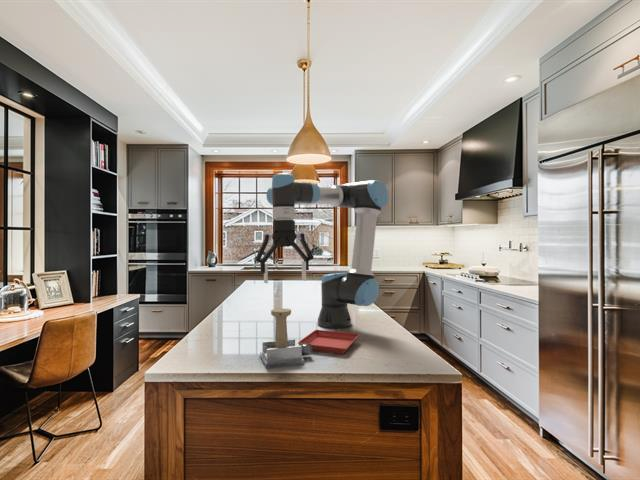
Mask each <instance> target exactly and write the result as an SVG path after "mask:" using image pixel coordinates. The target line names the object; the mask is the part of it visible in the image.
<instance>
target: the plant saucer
mask: <svg viewBox="0 0 640 480" xmlns="http://www.w3.org/2000/svg"><path fill="white" fill-rule="evenodd" d="M359 336H360V334H359V333H351V332H342V331H333V330H323V329H315V330H313V331H312V332H310V333H309V334H307V335H306V336H305V337H304V338H301V339H300V340H299V341H297V342H298V343H297V344H298V345H303V344H311V345H312V352H313V351H314V352H320V353H326V354H327V353H328V354H329V353H330V354H337V355H344V354H345V353H346V352H347V350H349V349H350V347H351V346H352V345H353V344H354V343H355V342H356V341H357V339H358V338H359Z"/></svg>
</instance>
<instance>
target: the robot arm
mask: <svg viewBox="0 0 640 480" xmlns="http://www.w3.org/2000/svg"><path fill="white" fill-rule="evenodd" d="M266 200H267V202H268V203H269V204H270V205H271V206H272V219H274V220H273V221H272V230H273V231H272V234H268V233H265V234H264V235H263V241H262V243H261V245H260V248H259V249H258V251H257V254H256V256H255V259H254V261H255V262H256V263H259V264H260V273H261V274H263V282H264V283H265V284H268V283H269V281H268V280H269V279H268V277H269V275H268V274H269V271H268V263H266V262H267V261H268V260H269V258H270V257H271V256H272V255H273V253H274V252H275V251H276V249H278V248H284V247H285V248H286V247H287V248H290V247H291V248H293V249H294V251H295V252H296V253H297V254H298V256H300V258H301V259H302V260H301V280H302V281H307V271H309V269H310V266H309V262H310V261H311V260H314V257H315V256H314V255H313V253H312V251H311V248H310V247H309V244H308V243H307V241H306V237H305V233H304V232H300V233H296V221H295V220H294V219H295V217H296V214H295V213H296V211H295V207H296V205H299V206H301V205H303V206H304V205H309V206H310V205H312V206H314V205H330V206H332V207H335V208H336V207H339V208H347V209H354V212H355V213H356V220H355V221H356V222H355V230H354V231H355V232H354V241H353V250H352V260H351V267H350V269H349V270H348V271H347V272H337V273H328V274H323V275H322V277H321V283H320V284H321V285H320V286H321V287H320V288H321V308H320V312H319V314H318V318H317V325H318V326H320V327H323V328H327V329H343V328H348V327H351V326H352V318H351V314H350V312H349V308H348V305H354V306H358V307H369V306H371V305H373V304H374V302H375V301H376V300H377V298H378V295H379V291H380V290H379V289H380V286H379V283H378V281H377V280H376V279H375V274H374V273H373V271H372V269H373V257H374V248H375V238H376V229H377V220H378V216H379V215H380V214H381V213H382V208H384V207H385V206H386V205H387V204H388V201H389V193H388V190H387V188H386V185H385V184H384V183H383V182H382V181H381V180H378V179H374V180H373V179H369V180H364V181H354V182H348V183H343V184H338V185H337V184H333V185H331V186H330V187H329V186H326V187H325V186H319V185H318V184H317V183H314V182H310V181H309V182H306V181H305V182H304V181H295V176H294V175H293V174H291V173H276V174H273V176H272V178H271V186H270V187H269V188H267V191H266ZM271 239H272V240H273V241H274V242H273V244H271V246H270V247H269V249H268V250H267V252H266V253H265V254H264V252H265V250H266V248H267V245H268V244H269V242H270V241H271ZM296 239H297V240H299V242H300V244H301V246H302V248H303V250H304V252H305V253H304V252H303V250H302V249H301V248H300V246H298V244H297V243H296V242H295V241H296Z"/></svg>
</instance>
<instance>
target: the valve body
mask: <svg viewBox="0 0 640 480" xmlns="http://www.w3.org/2000/svg"><path fill="white" fill-rule="evenodd" d="M261 347H262V349H261V350H262V351H260V352H259V357H260V358H261V360H262V362H263V365H264V366H265V368H266V369H271V368H272V369H273V368H279V367H280V368H281V367H288V366H298V365H305V359H304V358H303V357H305V356H306V357H307V356H312V355H313V351H312V345H311V344H303V345H299V344H298V345H296V339H295V338H288V345H287V347H280V348H276V344H275V340H265V341H262V342H261Z"/></svg>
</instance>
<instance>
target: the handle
mask: <svg viewBox="0 0 640 480" xmlns="http://www.w3.org/2000/svg"><path fill="white" fill-rule="evenodd" d="M270 314H271V316H273V317H275V344H276V348H280V347H287V345H288V339H289V338H288V337H289V336H288V328H287V327H288V325H287V324H288V322H287V317H289V316H290V315H292V309H290V308H273V309H271V310H270Z"/></svg>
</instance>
